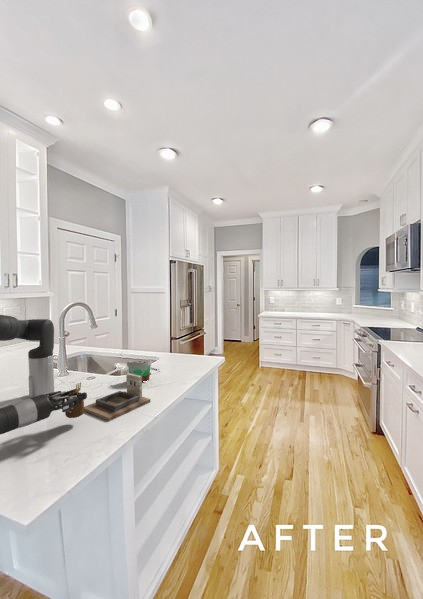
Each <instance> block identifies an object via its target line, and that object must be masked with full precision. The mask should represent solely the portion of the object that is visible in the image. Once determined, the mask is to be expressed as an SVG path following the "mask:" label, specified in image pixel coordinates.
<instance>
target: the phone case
mask: <svg viewBox="0 0 423 599" xmlns="http://www.w3.org/2000/svg"><path fill="white" fill-rule="evenodd" d="M151 368H154V369H158V370H154V369H153V370H154V371H152V372H151V371H150V373H153V374H154V373H156V372H159V371H161V372H162V369H159V368H156V367H152V366H150V369H151Z"/></svg>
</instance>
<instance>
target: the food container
mask: <svg viewBox="0 0 423 599" xmlns="http://www.w3.org/2000/svg"><path fill="white" fill-rule="evenodd" d="M151 365H153V362H152V360H151V359H149V360H145V361H144V360H139V361H134V362H132V361H131V362H129V361H127V362H126V366H127V367H128V373H130V374H134V375H139V376H142V382H143V381H147V380H148V381H150V375H151V374H150V372H151V368H150V367H152V366H151ZM148 381H147V382H148ZM143 383H144V382H143Z"/></svg>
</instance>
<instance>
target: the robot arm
mask: <svg viewBox="0 0 423 599" xmlns="http://www.w3.org/2000/svg"><path fill="white" fill-rule="evenodd" d="M15 339H17V340H18V339H20V340H25V341H29V342H31V341H32V342H33V341H34V342H36V341H37V342H39V345H38V346H37V347H34V348H33V349H32V348H31V349H29V351H28V353H27V357H28V396H29V398H27V399H24V400H23V399H22V400H19V401H17V402H15V403H13V404H10V405H6V406H3V407H0V435H3V434H6V433H9V432H11V431H14V430H18V429H21V428H24V427H27V426H29V425H33V424H35V423H38V422H41V421H42V420H45V419H48V418H49V417H50V416H51V414H52V413H53V412H55V411H60V410H61V412H62V413H65V412H66V411H68V410H70V409H72V408H74V407H76V406H78V402H79V401H82V400H84V401H85V400H86V399H87V398H88V397H87V396H88V393H87V392H80V393H81V394H78V395H76V396H71V397H69V396H67V395H68V394H70V393H74V392H75V391H76V388H73V389H69V390H70V391H69V390H67V391H65V390H64V391H61V390H58V391H55V376H54V347H55V346H54V345H55V326H54V323H53V321H52V320H51V319H44V318H41V319H40V318H39V319H38V318H37V319H36V318H35V319H32V318H31V319H24V320H23V319H22V320H21V319H18V318H17V317H16V316H12V315H5V314H0V342H4V341H5V342H6V341H12V340H15ZM71 390H72V391H71ZM70 399H71V400H70Z"/></svg>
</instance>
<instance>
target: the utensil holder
mask: <svg viewBox="0 0 423 599" xmlns="http://www.w3.org/2000/svg"><path fill="white" fill-rule="evenodd" d="M72 383H73V386H75V389H76V391H75V392H74V393H70V394H68V395H67V396H69V397H71V396H76V395H78V394H81V393H82V392H80V391H81V388H82V381H81V382H77V383H75V381H70V384H72ZM70 390H71V391H72V390H73V389H69V390H68V391H70ZM70 400H71V399H70ZM84 401H85V399H84V400H82V401H79V402H78V406H76V407H74V408H72V409H70V410H68V411H66V412H64V414H65V417H67V419H76V418H79V417H82V416H83V415H84V413H85V411H84V407H85V402H84Z"/></svg>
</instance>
